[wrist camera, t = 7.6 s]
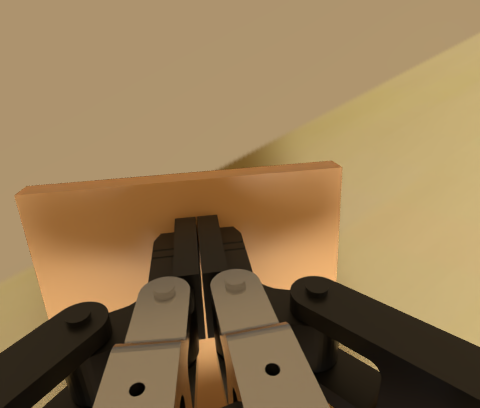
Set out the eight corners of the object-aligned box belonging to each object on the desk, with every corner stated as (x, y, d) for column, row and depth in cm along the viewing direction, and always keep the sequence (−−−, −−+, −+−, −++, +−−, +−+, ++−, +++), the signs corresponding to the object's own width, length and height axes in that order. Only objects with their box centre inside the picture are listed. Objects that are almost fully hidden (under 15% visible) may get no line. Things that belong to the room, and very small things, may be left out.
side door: (97, 494, 17) (13, 195, 12) (105, 456, 18) (35, 179, 13) (327, 452, 18) (342, 167, 13) (314, 420, 20) (324, 155, 15)
